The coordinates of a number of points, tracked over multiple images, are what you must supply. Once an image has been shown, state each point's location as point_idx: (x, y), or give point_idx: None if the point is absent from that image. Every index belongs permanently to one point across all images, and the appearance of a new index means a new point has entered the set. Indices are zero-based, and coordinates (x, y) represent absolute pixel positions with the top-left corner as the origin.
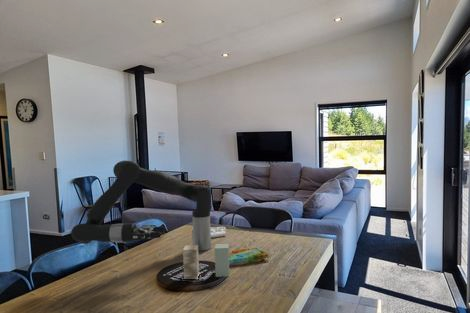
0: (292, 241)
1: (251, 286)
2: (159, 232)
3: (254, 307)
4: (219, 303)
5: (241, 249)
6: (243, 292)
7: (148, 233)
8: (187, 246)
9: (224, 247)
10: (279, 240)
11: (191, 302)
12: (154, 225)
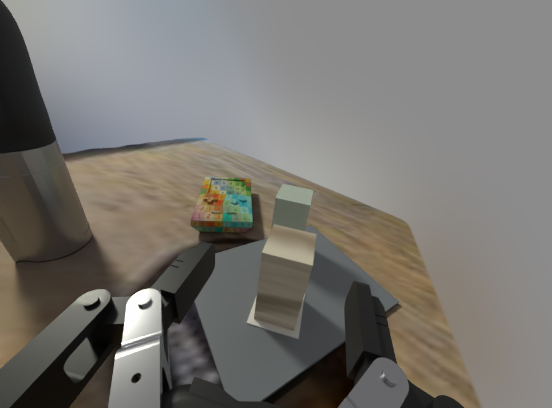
0: (186, 154)
1: (340, 230)
2: (368, 285)
3: (414, 246)
4: (414, 284)
5: (202, 191)
6: (363, 244)
7: (404, 388)
8: (274, 247)
9: (308, 193)
10: (167, 158)
11: (424, 336)
12: (101, 298)
